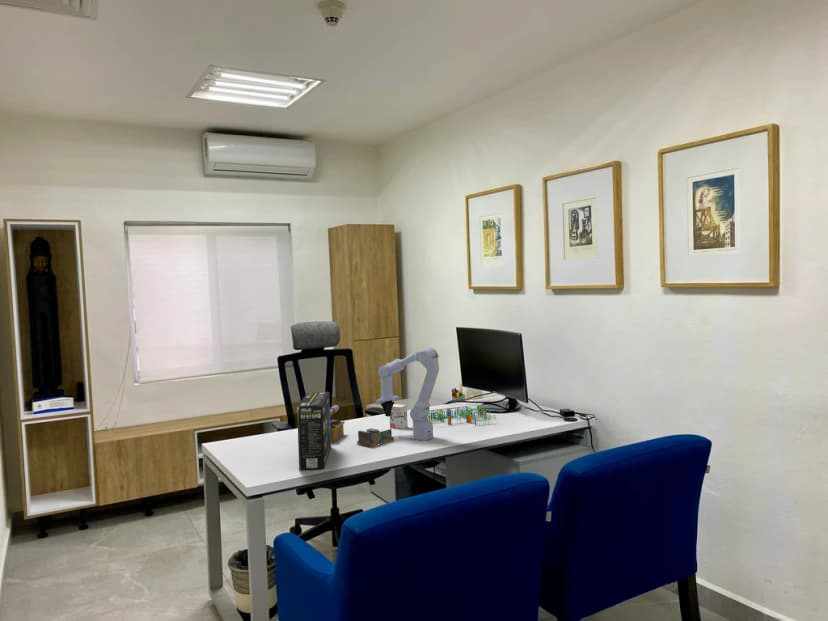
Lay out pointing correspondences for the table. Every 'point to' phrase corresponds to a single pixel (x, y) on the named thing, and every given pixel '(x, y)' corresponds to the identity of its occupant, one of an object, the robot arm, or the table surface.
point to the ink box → (398, 416)
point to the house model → (460, 414)
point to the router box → (314, 430)
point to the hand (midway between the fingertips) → (387, 416)
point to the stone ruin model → (374, 438)
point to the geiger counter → (336, 425)
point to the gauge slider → (373, 431)
